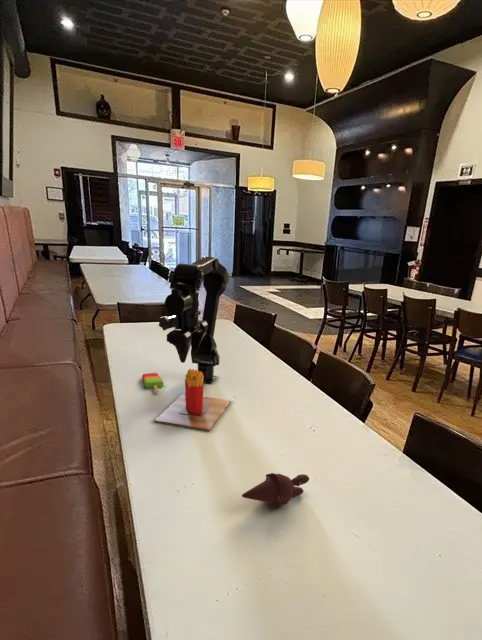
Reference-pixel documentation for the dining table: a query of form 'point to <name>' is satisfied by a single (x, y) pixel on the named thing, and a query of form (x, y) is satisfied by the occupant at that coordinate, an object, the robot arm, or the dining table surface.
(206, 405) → the placemat
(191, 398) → the french fries
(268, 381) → the dining table surface
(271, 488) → the icecream
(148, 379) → the popsicle
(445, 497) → the dining table surface
